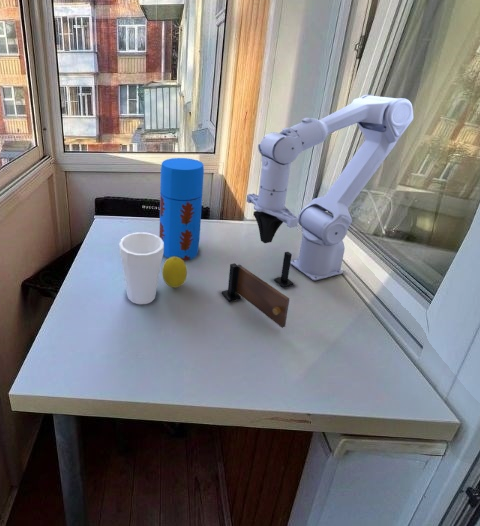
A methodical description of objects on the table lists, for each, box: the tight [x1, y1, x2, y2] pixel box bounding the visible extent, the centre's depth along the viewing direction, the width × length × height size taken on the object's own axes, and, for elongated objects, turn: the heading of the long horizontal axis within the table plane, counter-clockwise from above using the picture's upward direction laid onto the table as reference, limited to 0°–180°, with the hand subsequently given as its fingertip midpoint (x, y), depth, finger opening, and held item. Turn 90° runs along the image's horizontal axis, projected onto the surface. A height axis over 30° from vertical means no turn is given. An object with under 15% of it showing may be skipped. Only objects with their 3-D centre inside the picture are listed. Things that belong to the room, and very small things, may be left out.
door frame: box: [221, 251, 295, 303], centre depth 74 cm, size 17×3×8 cm, turn 109°
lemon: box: [161, 256, 188, 289], centre depth 75 cm, size 6×6×8 cm
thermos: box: [158, 157, 205, 262], centre depth 88 cm, size 11×11×25 cm
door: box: [235, 264, 290, 329], centre depth 68 cm, size 13×2×6 cm, turn 29°
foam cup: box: [118, 231, 164, 305], centre depth 72 cm, size 10×9×13 cm
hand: (266, 241), depth 78 cm, fingers closed
